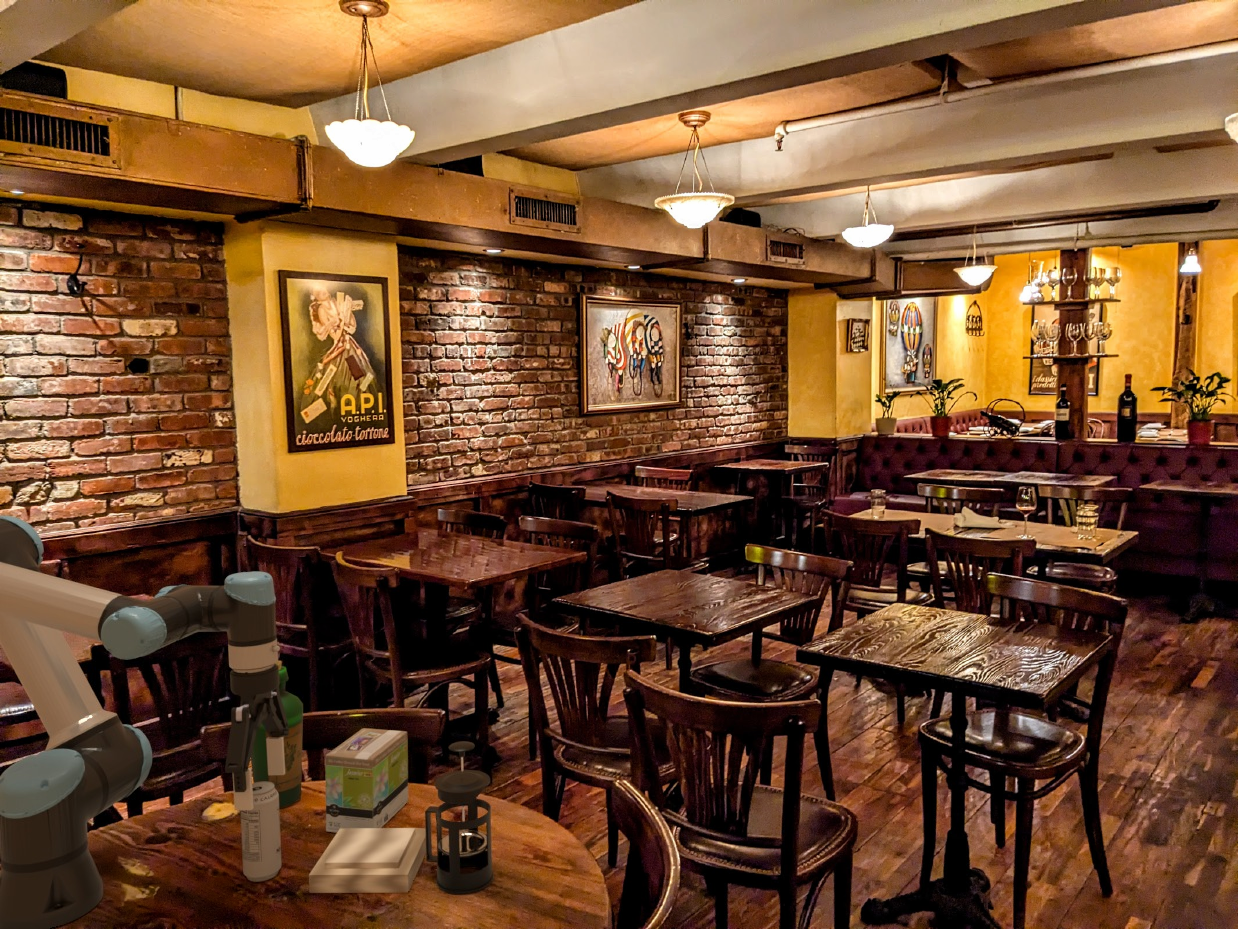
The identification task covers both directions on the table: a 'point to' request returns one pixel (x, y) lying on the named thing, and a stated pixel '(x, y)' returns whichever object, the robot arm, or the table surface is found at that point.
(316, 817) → the table surface
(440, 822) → the french press
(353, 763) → the tea box
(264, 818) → the energy drink can
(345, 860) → the birch base
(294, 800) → the bottle
